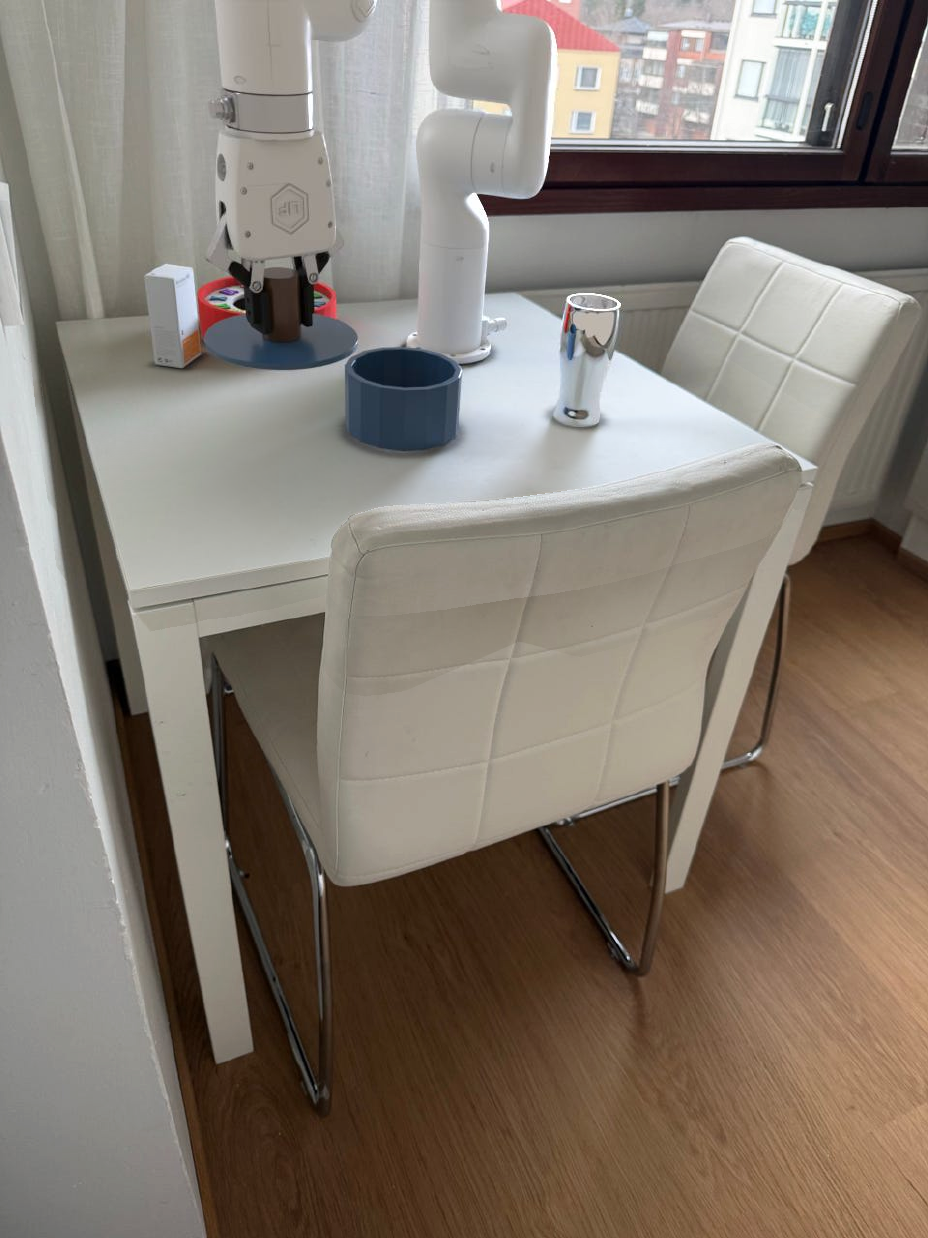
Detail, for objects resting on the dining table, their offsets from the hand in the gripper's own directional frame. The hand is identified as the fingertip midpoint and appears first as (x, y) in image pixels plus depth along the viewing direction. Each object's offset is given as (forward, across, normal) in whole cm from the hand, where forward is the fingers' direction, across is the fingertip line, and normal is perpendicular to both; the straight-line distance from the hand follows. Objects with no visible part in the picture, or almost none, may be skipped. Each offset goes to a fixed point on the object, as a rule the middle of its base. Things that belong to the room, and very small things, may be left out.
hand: (281, 324), depth 89 cm
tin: (+18, +18, +6) cm, 26 cm away
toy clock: (+18, +20, +44) cm, 52 cm away
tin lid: (+2, 0, 0) cm, 2 cm away
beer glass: (+18, +40, -2) cm, 44 cm away
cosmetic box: (+18, +4, +40) cm, 44 cm away
